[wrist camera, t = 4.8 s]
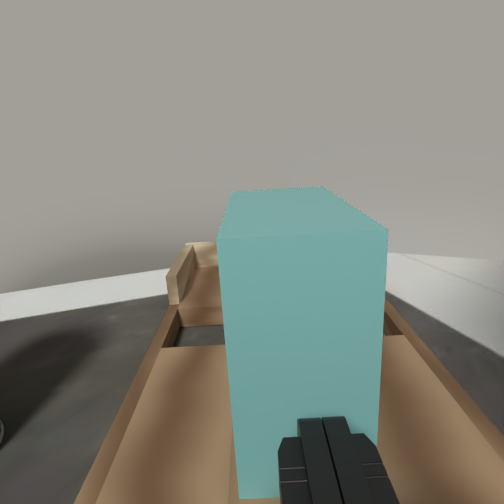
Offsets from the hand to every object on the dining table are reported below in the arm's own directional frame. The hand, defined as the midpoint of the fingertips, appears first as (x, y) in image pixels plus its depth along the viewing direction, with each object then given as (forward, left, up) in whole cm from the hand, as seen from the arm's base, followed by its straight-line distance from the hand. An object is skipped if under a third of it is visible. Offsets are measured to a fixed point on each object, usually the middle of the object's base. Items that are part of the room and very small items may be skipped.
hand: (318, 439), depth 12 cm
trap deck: (0, -19, -8) cm, 21 cm away
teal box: (0, -9, -6) cm, 11 cm away
